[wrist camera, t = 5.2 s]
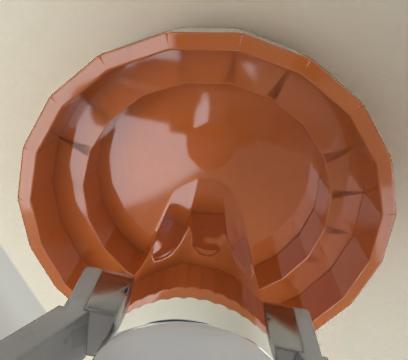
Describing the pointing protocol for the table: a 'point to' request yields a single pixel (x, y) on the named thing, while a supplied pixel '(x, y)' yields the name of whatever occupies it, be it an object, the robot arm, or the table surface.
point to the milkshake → (193, 287)
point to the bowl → (211, 163)
